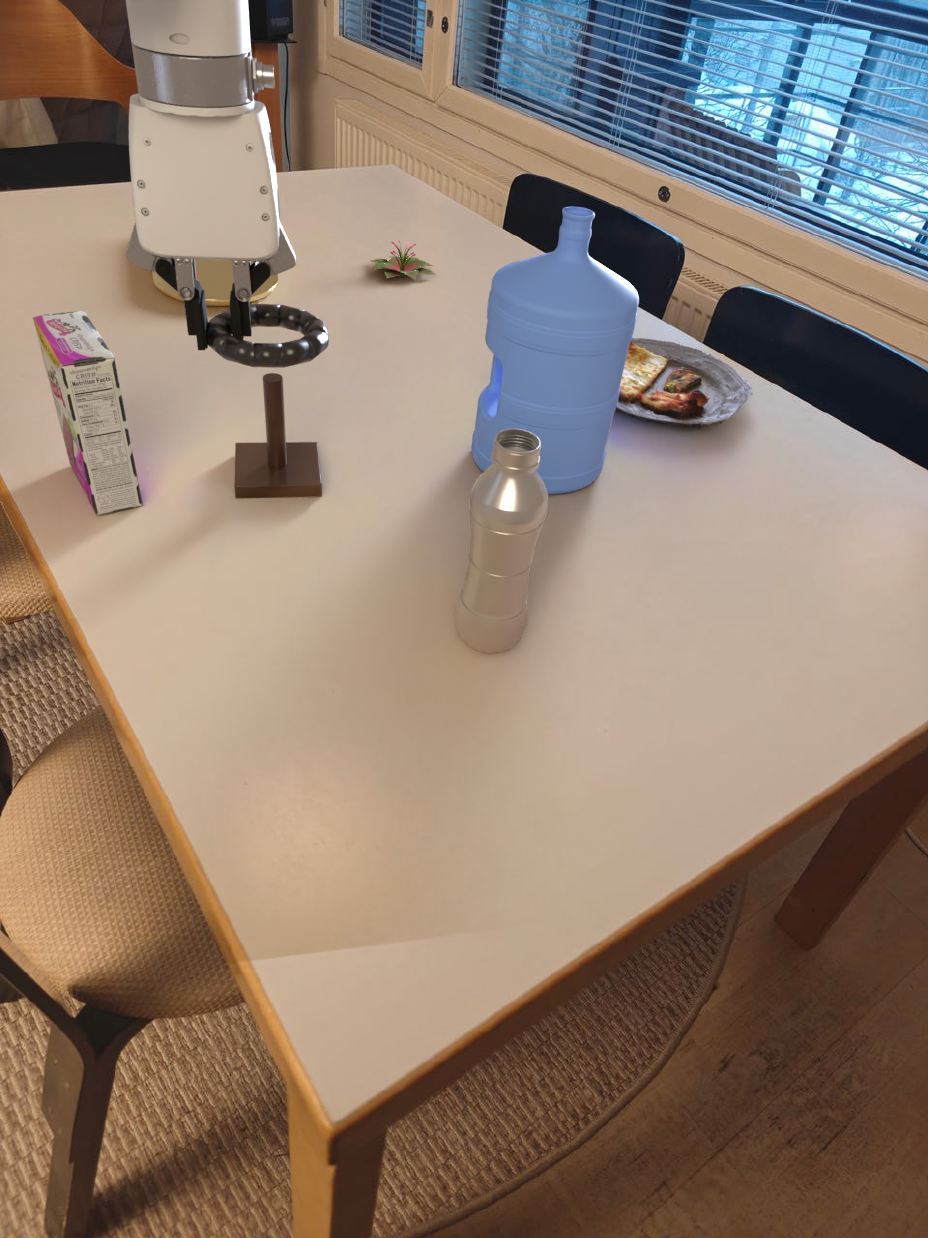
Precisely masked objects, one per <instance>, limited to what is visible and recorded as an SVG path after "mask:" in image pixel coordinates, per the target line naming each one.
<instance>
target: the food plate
mask: <svg viewBox="0 0 928 1238" xmlns="http://www.w3.org/2000/svg"><path fill="white" fill-rule="evenodd" d="M752 388H753V387H752V386H751V385H750V383H748V381H747V379H745V378H744V377H743V376H742V375H741V374H739V372H738V371H737V370H736V369H734V368H733V366H730V365H729V364H728V363H727V362H725V361H723V360H721V359H720V358H717V357H715V356H713V355H712V354H711V353H707V352H706V351H704V352H703V351H702V350H700V349H697V348H694V347H690V346H686V345H683V344H680V343H676V342H674V341H668V340H660V339H659V340H658V339H652V338H647V337H646V338H645V337H632V339H631V341H630V344H629V348H628V353H627V357H626V362H625V366H624V370H623V375H622V379H621V383H620V394H619V398H618V403H617V406H616V409H615V410H617V411H620V412H622V413H625V414H626V415H628V416H630V417H632V418H637V419H640V420H645V421H648V422H654V423H660V424H661V423H665V424H671V425H672V424H673V425H677V426H681V427H689V426H692V427H699V429H701V427H709V426H711V425H712V424H713V423H716V424H717V425H721V424H723V423H724V422H727V421H728V420H730V419H731V418H732V417H733V416H734V415H735V413H737V411H739V410H740V409H741V407H742V406H743V404H745V403H746V401H747V400H748V398H749V397H750V396H753V389H752Z"/></svg>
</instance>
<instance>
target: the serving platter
mask: <svg viewBox="0 0 928 1238" xmlns="http://www.w3.org/2000/svg"><path fill="white" fill-rule="evenodd" d="M173 259H174V258H173ZM253 262H254V261H250V264H252V263H253ZM195 267H196V278H197V281H198V282H200V285H201V286H202V290H205V299H206V307H208V306H210V307H230V293H231V291H232V284H233V283H234V276H233V267H232V260H211V259H195ZM151 275H152V276H151V277H152V278H151V279H152V281H153V283H154V285H155V286H156V288H158V289H159V290H160V291H161V292H163V293H164V294H165V295H167V296H169V297H171V298H173V299H175V300H178V301H181V302H184V300H183V299H182V298H180V296H179V295H178V292H177V291H176V290H175V289H174V288H173V287H172V286H170V285H169V284H168V283H167V282H166V281H165V280H164V279H162V278H161V277H160V276H159V275H158V274H157V273H156V272H154V271H151ZM279 281H280V278H279V274H277V275H273V276H270V277H269V278H268V279H267V280H266V281H265V282H264V283H263V284H262V285H261V286H260V287H259V288H258V289H257V290H256V291H255V292H254V293H253V294H252V295H251V299H250V300H249V303H250V304H251V303H253V302H257V301H258V300H262V299H263V298H265V297H267V296H268V295H270V294H271V293H273V292H274V290H275V289H276V288H277V287H278V284H279Z"/></svg>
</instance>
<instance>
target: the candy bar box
mask: <svg viewBox="0 0 928 1238" xmlns="http://www.w3.org/2000/svg"><path fill="white" fill-rule="evenodd" d="M32 321H33V323H34V327H35V331H36V335H37V339H38V344H39V348H40V352H41V355H42V361H43V363H44V368H45V372H46V375H47V379H48V383H49V387H50V391H51V395H52V399H53V403H54V407H55V410H56V411H55V412H56V414H57V419H58V422H59V426H60V430H61V434H62V438H63V442H64V446H65V448H66V449H65V450H66V455H67V457H68V463H69V465H70V467H71V469H72V470H73V473H74V475H75V477H76V479H77V480H78V483H79V484H80V486H81V488H82V490H83V492H84V494H85V496H86V498H87V500H88V502H89V504H90V505H91V507H92V510H93V511H94V513H95V516H97V517H98V516H106V515H110V514H114V513H119V512H123V511H126V510H130V509H131V510H132V509H135V508H140V507H143V506H144V504H143V499H142V494H141V489H140V483H139V477H138V473H137V468H136V463H135V457H134V452H133V446H132V442H131V437H130V431H129V427H128V421H127V416H126V411H125V406H124V399H123V396H122V390H121V386H120V381H119V376H118V375H119V374H118V369H117V364H116V357H115V355H114V354H113V353H112V352H111V350H110V348H109V347H108V345H107V344H106V342H105V340H104V339H103V337H102V336H101V335H100V333H99V331H98V330H97V329H96V327H95V326H94V324H93V322H92V321H91V319H90V318H89V316H88V315H87V314H86V312H85V311H84V310H76V311H68V312H58V313H52V314H49V313H48V314H47V313H45V314H40V315H37V316H33V317H32Z"/></svg>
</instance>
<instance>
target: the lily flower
mask: <svg viewBox="0 0 928 1238" xmlns="http://www.w3.org/2000/svg"><path fill="white" fill-rule="evenodd" d="M390 243H391V244H393V245H394V247H395V248H396V249H397V252H398V253H397V252H396V251H395V250H392V251H390V254H391V255H393V256H388V257H389V258H391V259H390V260H389V261H387V258H386V259H385V258H376V259H369V262H372V263H374V266H372V268H371V269H370V271H374V270H380V269H385V270H383V273H384V275H385V276H386V277H385V278H386V279H390V278H393V277H399V276H405V275H406V276H407V277H409V278H411V279H412V280H414V281H416V279H417V277H418V275H429V276H437V274H436V273H435V272H433V270H431V269H430V268H424V267H434V265H433V264H430V263H428V262H427V261H425V260H422V259H420V258H418V257H416V255H417V254H416V253H415V252H413V251H412V252H411V253H410V254H409V255H408V253H409V251H410V250H411V249H413V247H415V246H416V245H417V243H414V244H412V245H411V246H409V247H407V246H408V245H406V246H405V249H404V251H403V248H402V244H401V242H400V240H398V243H399V245H400V246H398V245H397V244H395V242H394V241H391V242H390ZM409 243H410V240H407V244H409ZM399 256H400V257H399ZM406 259H407V260H406ZM384 263H385V264H384ZM420 266H421V267H420ZM387 268H388V269H387ZM391 269H392V270H391ZM415 270H416V271H415ZM405 272H406V273H405Z"/></svg>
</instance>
